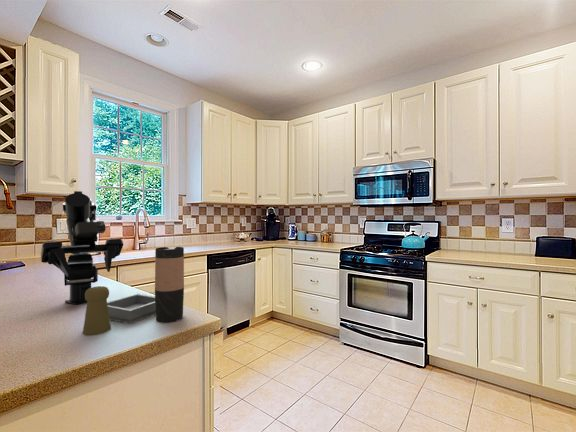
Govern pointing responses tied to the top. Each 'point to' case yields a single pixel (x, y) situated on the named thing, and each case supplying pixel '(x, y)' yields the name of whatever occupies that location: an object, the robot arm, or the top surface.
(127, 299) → the gray square tray
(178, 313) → the travel mug
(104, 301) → the cork
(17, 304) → the top surface
